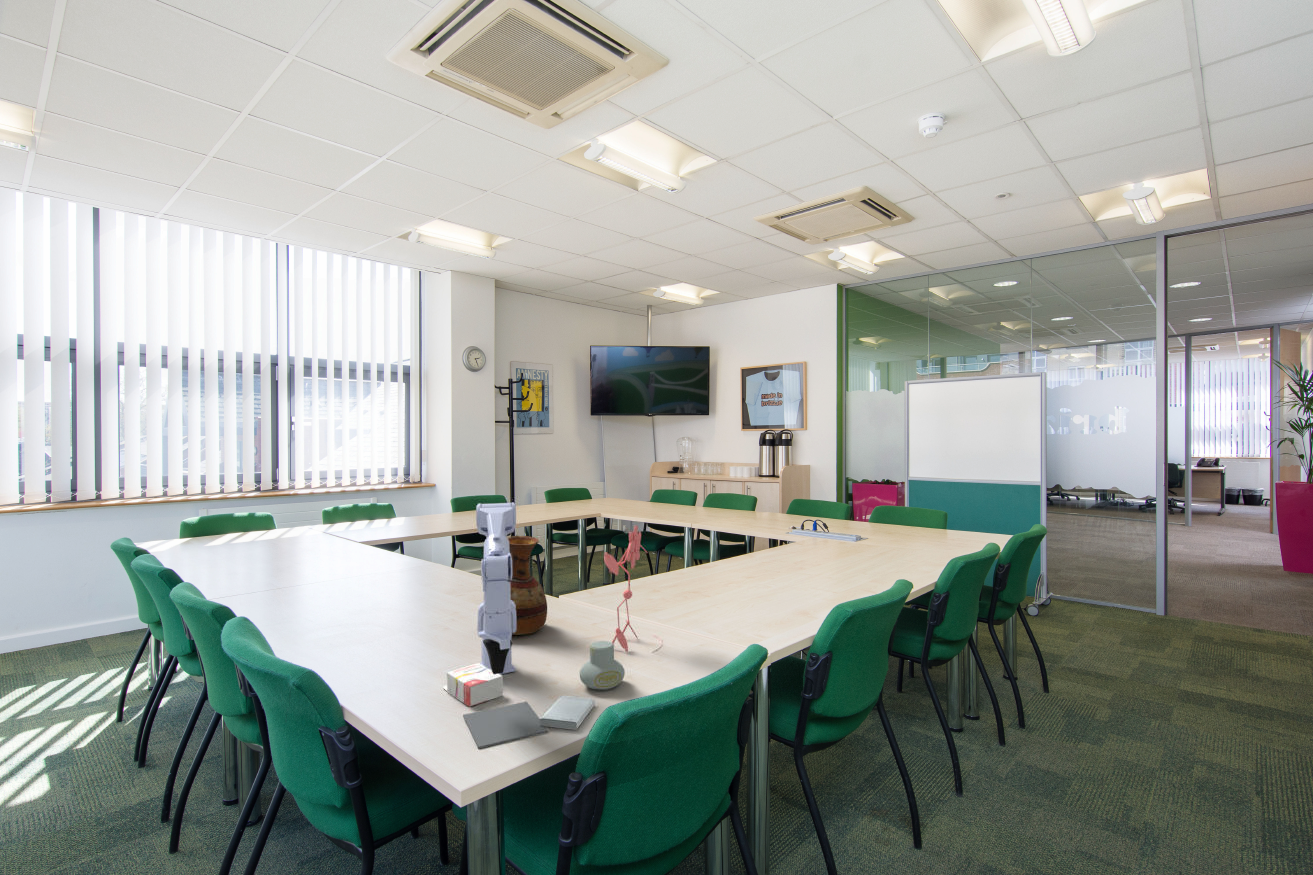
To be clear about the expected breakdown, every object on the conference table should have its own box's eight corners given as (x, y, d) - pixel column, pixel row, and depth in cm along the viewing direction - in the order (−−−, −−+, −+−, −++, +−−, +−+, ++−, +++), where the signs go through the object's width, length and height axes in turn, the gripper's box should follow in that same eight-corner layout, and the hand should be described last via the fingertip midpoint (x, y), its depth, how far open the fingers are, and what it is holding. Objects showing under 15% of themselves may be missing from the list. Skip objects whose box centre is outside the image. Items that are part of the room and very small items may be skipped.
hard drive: (577, 722, 124) (594, 697, 136) (539, 717, 126) (560, 694, 138) (576, 730, 124) (594, 705, 136) (539, 725, 126) (560, 701, 138)
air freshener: (585, 695, 142) (585, 652, 142) (575, 683, 149) (575, 642, 149) (629, 687, 146) (628, 646, 146) (617, 676, 154) (617, 636, 154)
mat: (463, 716, 131) (463, 714, 131) (526, 702, 138) (526, 701, 138) (478, 748, 117) (478, 746, 117) (548, 732, 124) (548, 730, 124)
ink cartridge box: (469, 685, 136) (440, 668, 147) (469, 707, 136) (440, 689, 147) (503, 674, 142) (472, 659, 153) (503, 695, 142) (473, 678, 153)
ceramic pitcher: (502, 645, 178) (501, 543, 179) (472, 630, 193) (472, 536, 194) (559, 631, 191) (558, 536, 191) (527, 618, 206) (526, 529, 207)
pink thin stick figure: (596, 658, 166) (597, 530, 166) (624, 630, 191) (626, 519, 191) (650, 664, 162) (651, 533, 162) (672, 635, 187) (673, 521, 187)
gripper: (471, 605, 138) (472, 665, 138) (485, 621, 125) (486, 687, 125) (503, 601, 141) (503, 659, 141) (519, 616, 128) (520, 681, 128)
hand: (497, 672), depth 133 cm, fingers closed
